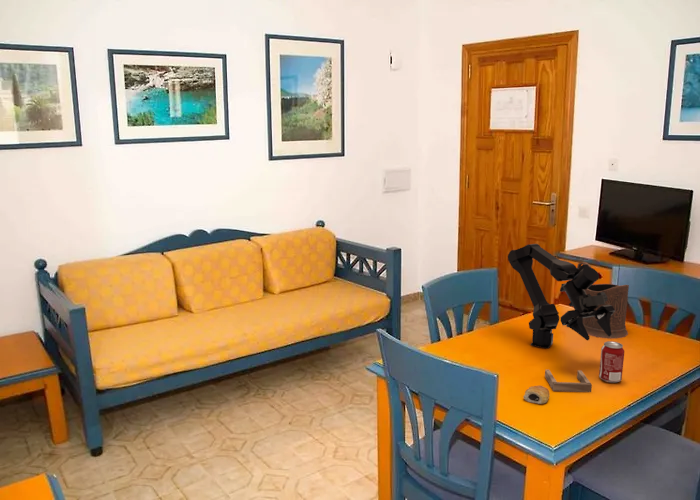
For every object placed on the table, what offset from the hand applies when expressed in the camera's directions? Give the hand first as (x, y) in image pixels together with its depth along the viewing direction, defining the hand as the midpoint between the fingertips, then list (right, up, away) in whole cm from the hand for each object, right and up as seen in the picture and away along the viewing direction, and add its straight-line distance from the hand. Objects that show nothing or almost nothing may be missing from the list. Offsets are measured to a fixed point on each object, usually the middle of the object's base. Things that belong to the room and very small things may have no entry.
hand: (599, 337), depth 199 cm
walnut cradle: (-13, -14, -6) cm, 19 cm away
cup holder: (+17, -3, +45) cm, 48 cm away
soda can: (+2, -13, -3) cm, 14 cm away
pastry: (-25, -16, -15) cm, 34 cm away
